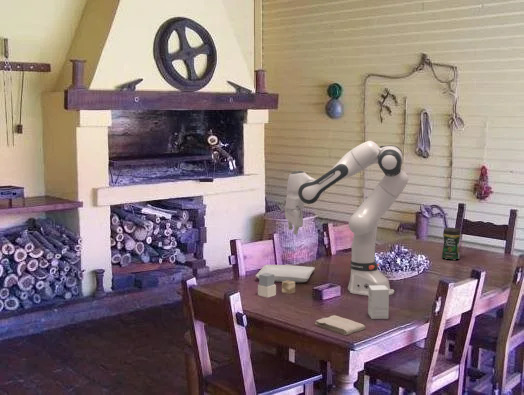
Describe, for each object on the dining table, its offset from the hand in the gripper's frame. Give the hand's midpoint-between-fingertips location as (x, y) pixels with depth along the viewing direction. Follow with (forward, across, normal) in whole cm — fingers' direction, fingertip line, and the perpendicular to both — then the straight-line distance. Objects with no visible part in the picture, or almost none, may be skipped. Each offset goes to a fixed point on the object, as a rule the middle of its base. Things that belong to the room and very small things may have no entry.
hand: (292, 231), depth 334 cm
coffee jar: (+25, +36, -107) cm, 116 cm away
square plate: (+29, +16, -3) cm, 33 cm away
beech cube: (+26, -13, +4) cm, 30 cm away
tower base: (+27, -16, +15) cm, 35 cm away
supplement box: (+22, -59, -23) cm, 67 cm away
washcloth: (+23, -69, -2) cm, 73 cm away
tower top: (+22, -16, +16) cm, 31 cm away
